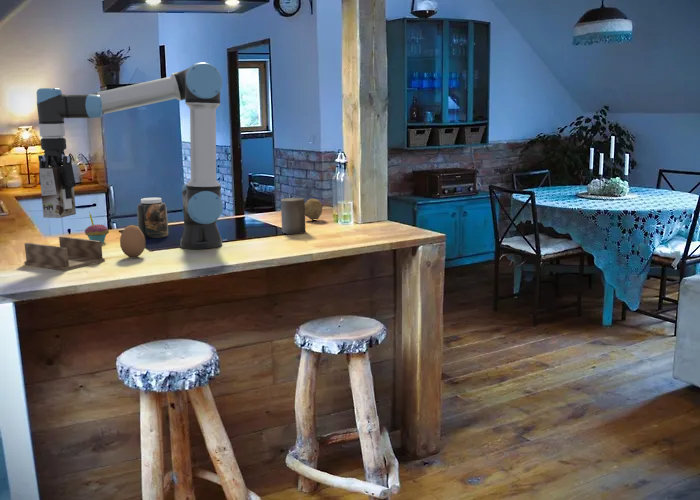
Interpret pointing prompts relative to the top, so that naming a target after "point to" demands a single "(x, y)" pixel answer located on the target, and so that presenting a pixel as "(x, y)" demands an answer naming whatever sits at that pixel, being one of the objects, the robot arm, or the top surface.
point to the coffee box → (54, 194)
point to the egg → (132, 241)
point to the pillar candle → (293, 215)
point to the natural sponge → (313, 208)
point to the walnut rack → (64, 254)
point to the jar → (152, 218)
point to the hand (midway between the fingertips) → (59, 207)
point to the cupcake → (96, 231)
